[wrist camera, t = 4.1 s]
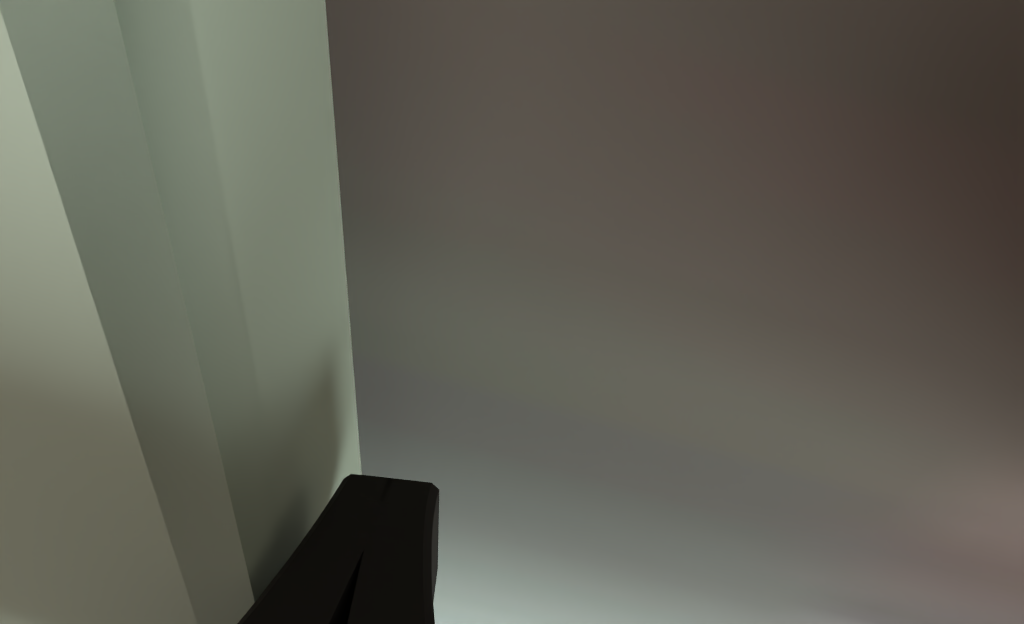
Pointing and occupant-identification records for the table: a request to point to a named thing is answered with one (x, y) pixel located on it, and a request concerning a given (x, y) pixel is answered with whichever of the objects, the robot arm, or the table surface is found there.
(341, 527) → the robot arm
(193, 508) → the lid
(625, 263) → the table surface
